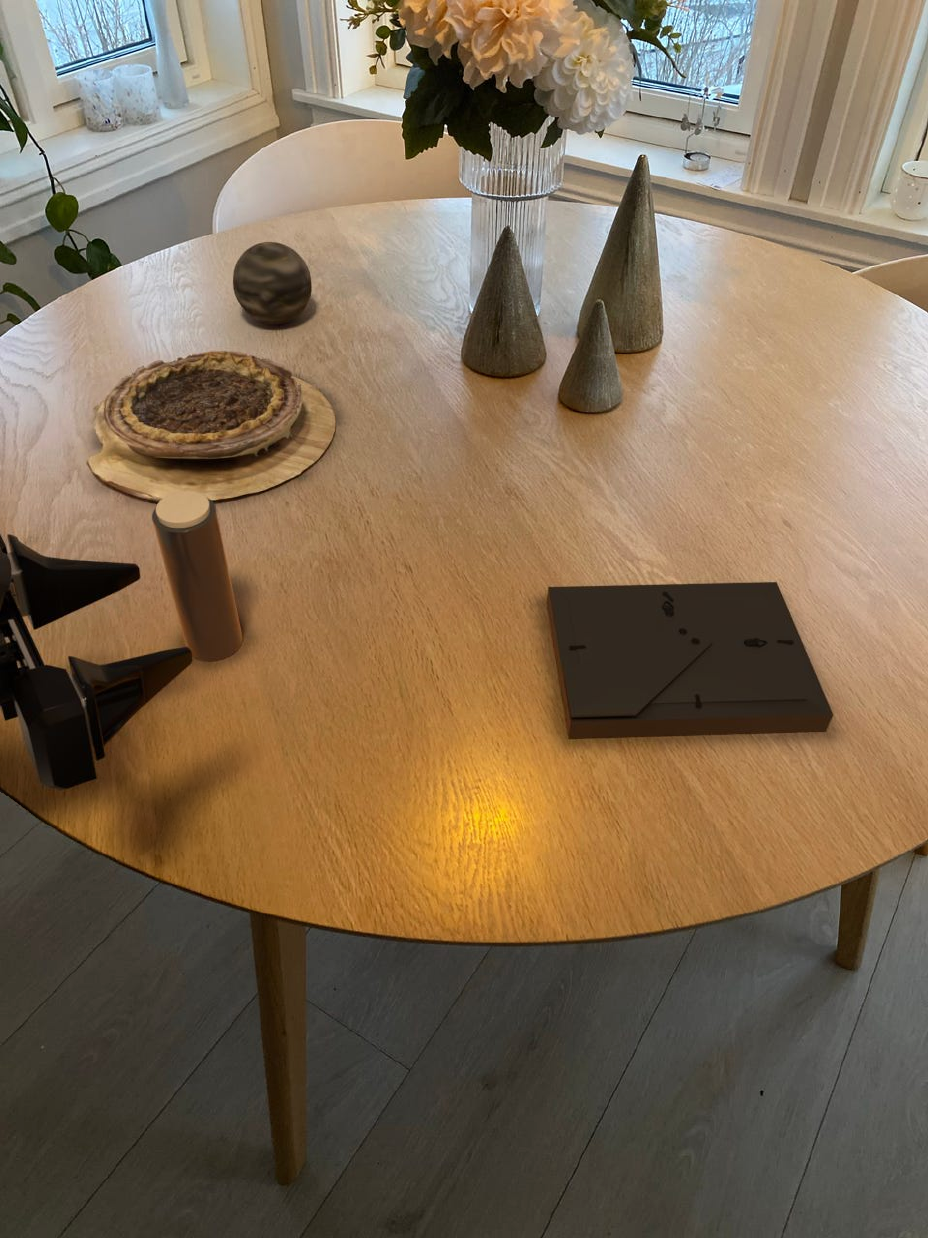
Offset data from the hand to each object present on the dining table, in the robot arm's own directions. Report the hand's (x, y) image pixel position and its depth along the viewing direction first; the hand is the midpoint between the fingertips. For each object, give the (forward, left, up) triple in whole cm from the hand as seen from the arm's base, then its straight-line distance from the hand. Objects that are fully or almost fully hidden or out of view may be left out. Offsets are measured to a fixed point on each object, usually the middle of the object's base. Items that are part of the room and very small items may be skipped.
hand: (164, 610), depth 60 cm
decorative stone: (+31, +68, -18) cm, 77 cm away
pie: (+15, +46, -18) cm, 52 cm away
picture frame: (+39, -7, -18) cm, 43 cm away
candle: (+5, +14, -17) cm, 23 cm away
